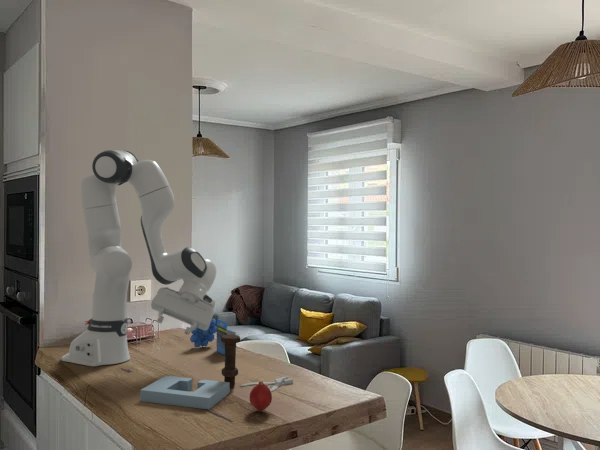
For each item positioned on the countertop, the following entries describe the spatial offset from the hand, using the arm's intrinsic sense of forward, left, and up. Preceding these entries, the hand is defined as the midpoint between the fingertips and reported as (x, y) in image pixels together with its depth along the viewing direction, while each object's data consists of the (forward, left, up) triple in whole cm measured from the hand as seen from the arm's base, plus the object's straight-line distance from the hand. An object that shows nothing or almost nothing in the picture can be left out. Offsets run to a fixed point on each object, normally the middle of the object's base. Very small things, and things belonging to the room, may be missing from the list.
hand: (172, 327), depth 171 cm
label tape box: (+6, +29, -15) cm, 33 cm away
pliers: (+33, -2, -15) cm, 37 cm away
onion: (+37, -23, -15) cm, 46 cm away
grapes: (-6, +35, -15) cm, 39 cm away
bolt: (+22, -7, -15) cm, 28 cm away
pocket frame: (+14, -19, -15) cm, 28 cm away
